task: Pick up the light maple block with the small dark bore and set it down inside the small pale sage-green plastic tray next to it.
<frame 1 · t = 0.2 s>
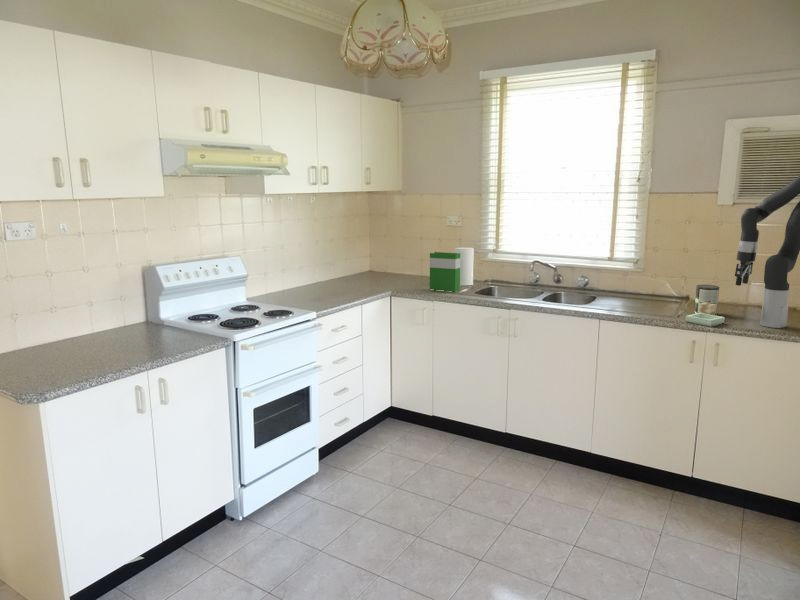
hand: (741, 284, 265), 18 cm above the worktop, tool pointing down, fingers open, 8 cm apart
cylinder: (463, 285, 375), on the worktop
maple block: (706, 317, 274), on the worktop
tray: (704, 322, 264), on the worktop
green cereal box: (444, 291, 354), on the worktop
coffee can: (705, 313, 284), on the worktop
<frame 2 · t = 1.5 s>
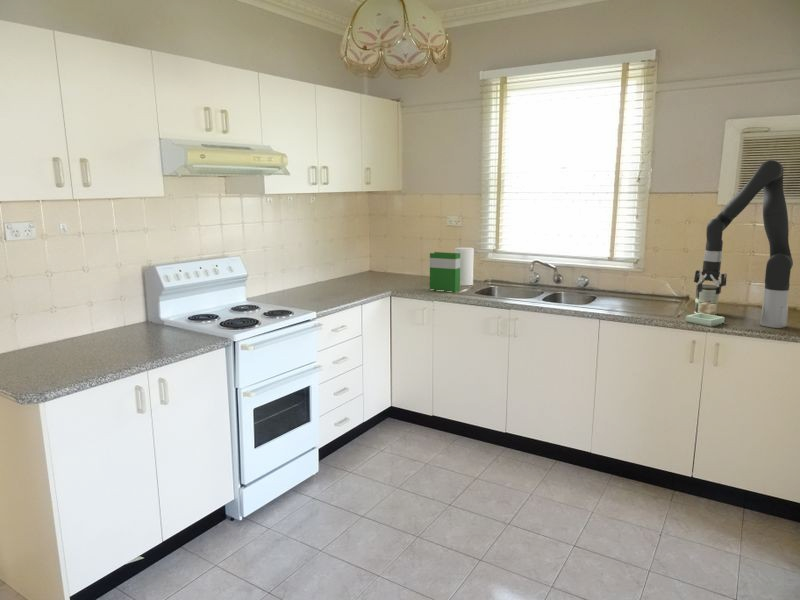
hand: (708, 293, 272), 12 cm above the worktop, tool pointing down, fingers open, 8 cm apart
nothing on the worktop moved.
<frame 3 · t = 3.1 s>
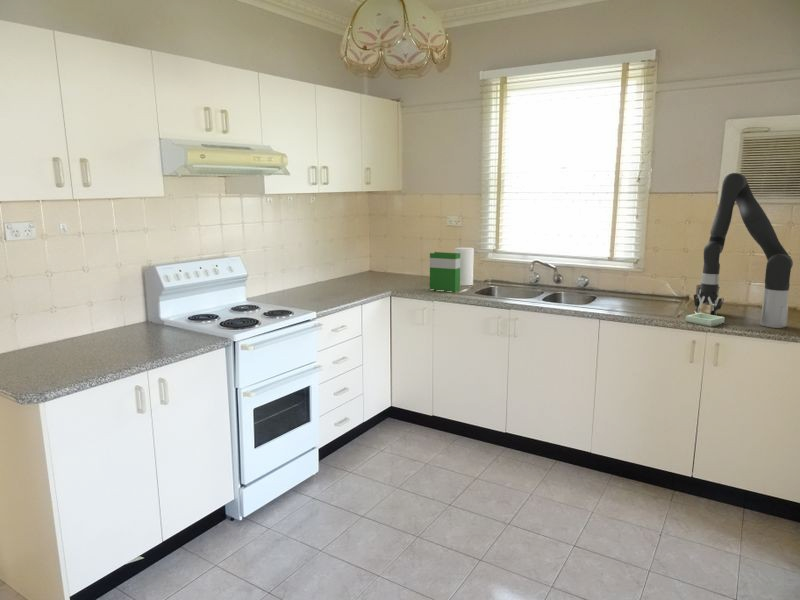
hand: (706, 316, 274), 1 cm above the worktop, tool pointing down, fingers closed on maple block, 5 cm apart
maple block: (706, 317, 274), on the worktop, touching gripper
everything else where it was.
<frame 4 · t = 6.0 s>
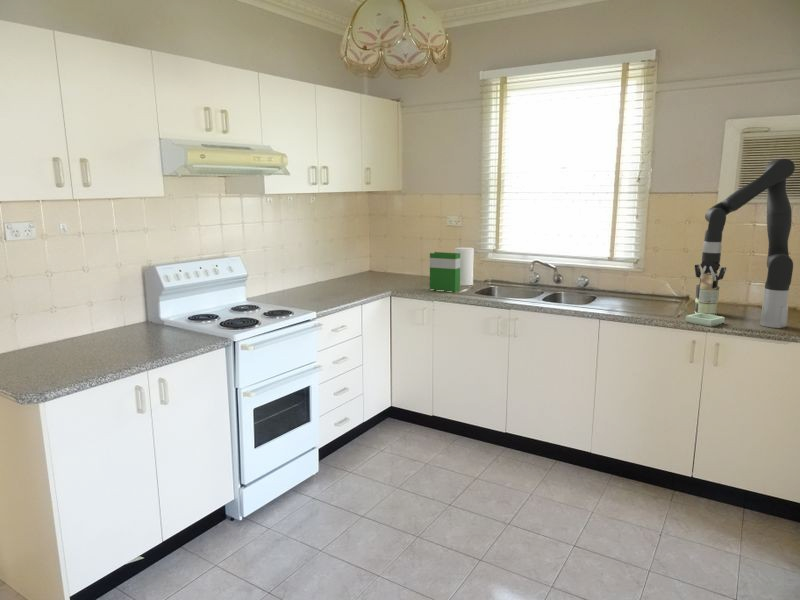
hand: (708, 287, 261), 17 cm above the worktop, tool pointing down, fingers closed on maple block, 5 cm apart
maple block: (708, 288, 261), point 16 cm above the worktop, touching gripper
everything else where it was.
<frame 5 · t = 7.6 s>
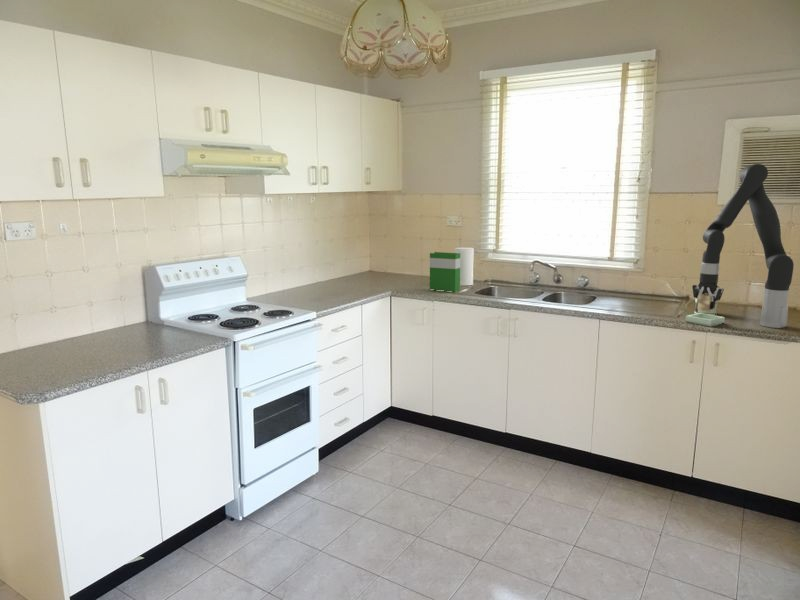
hand: (705, 307, 263), 7 cm above the worktop, tool pointing down, fingers closed on maple block, 5 cm apart
maple block: (705, 309, 263), point 6 cm above the worktop, touching gripper
everything else where it was.
when the fingers open (3 cm above the worktop, at t = 8.9 s): maple block drops 1 cm, resting on tray.
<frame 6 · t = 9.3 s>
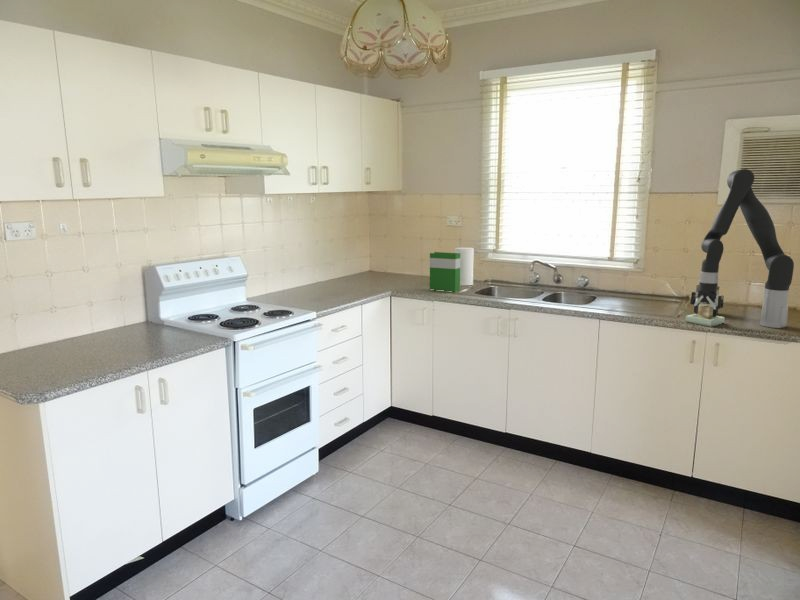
hand: (705, 315, 263), 4 cm above the worktop, tool pointing down, fingers open, 8 cm apart
maple block: (705, 321, 264), point 1 cm above the worktop, touching tray
everything else where it was.
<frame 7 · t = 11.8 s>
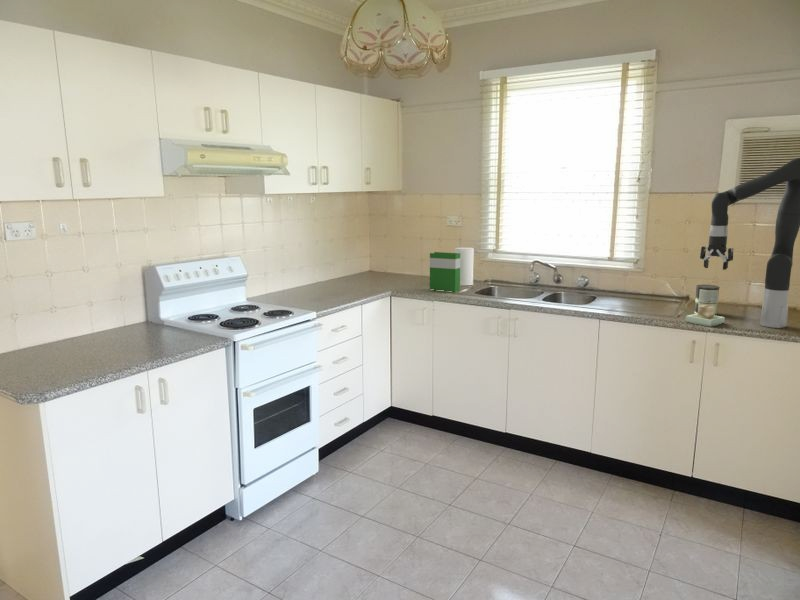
hand: (715, 268, 268), 24 cm above the worktop, tool pointing down, fingers open, 8 cm apart
nothing on the worktop moved.
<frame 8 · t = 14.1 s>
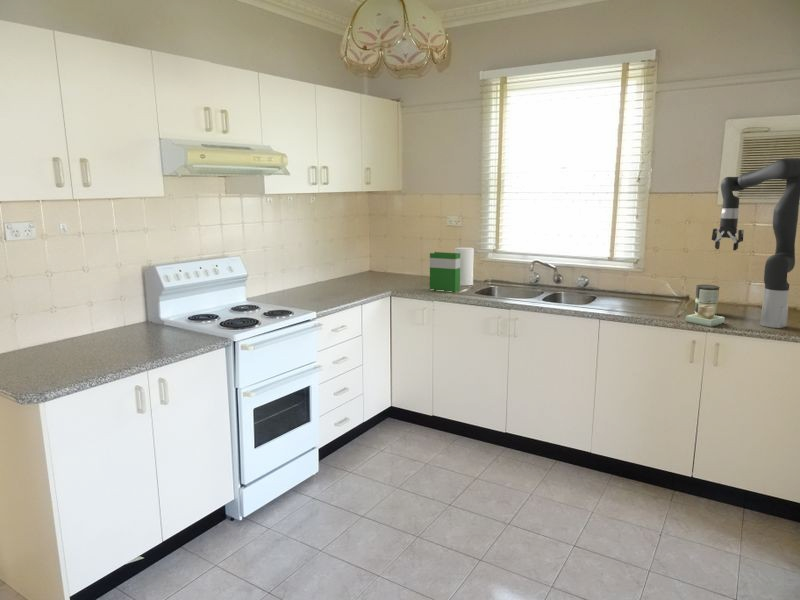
hand: (725, 249, 282), 32 cm above the worktop, tool pointing down, fingers open, 8 cm apart
nothing on the worktop moved.
at the end: maple block 0.2 cm off-centre on the tray, point 0.8 cm above the tray's base; maple block tilted 0°; the gripper is holding nothing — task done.
